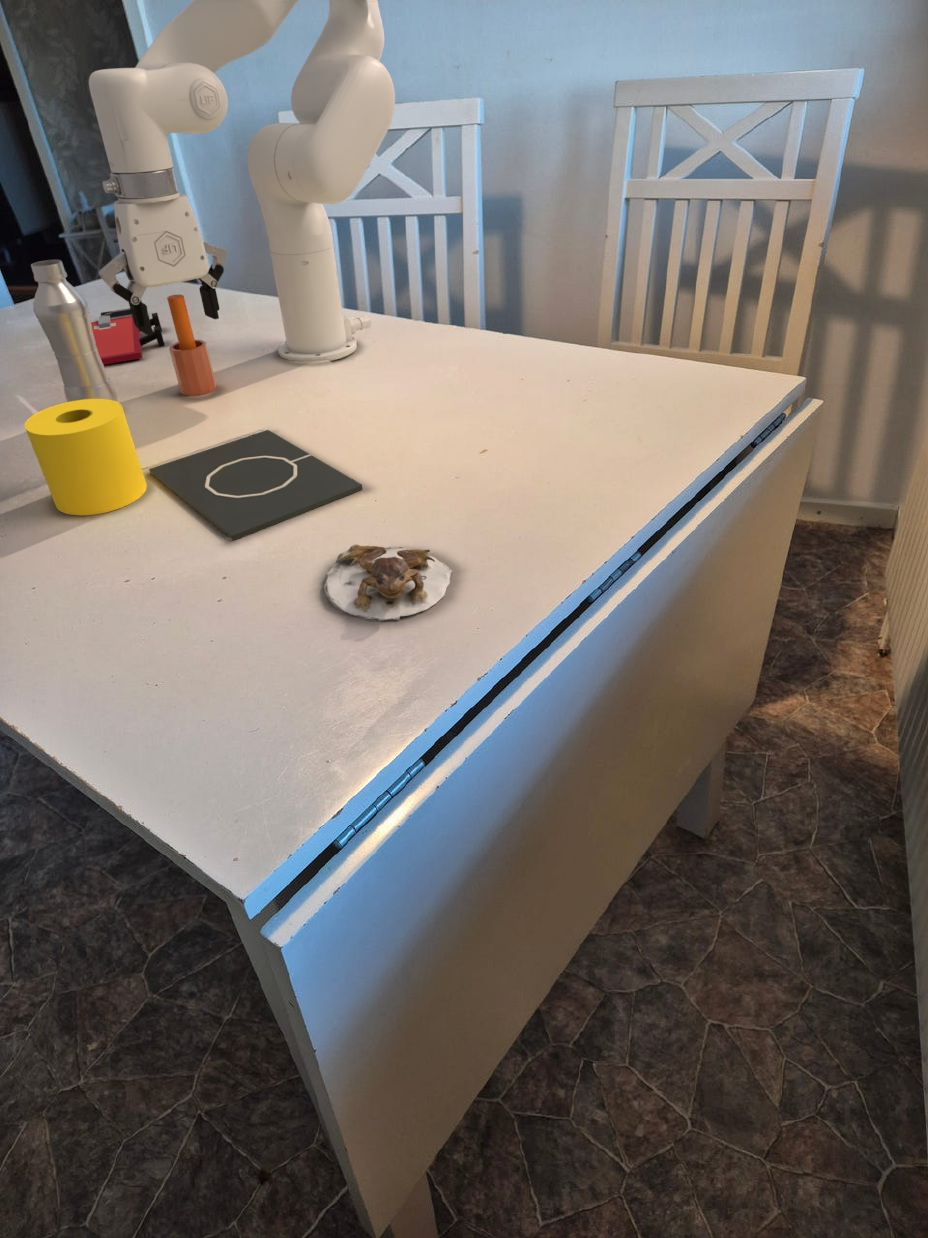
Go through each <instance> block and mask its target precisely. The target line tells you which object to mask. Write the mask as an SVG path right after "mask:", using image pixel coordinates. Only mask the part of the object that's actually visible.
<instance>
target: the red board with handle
mask: <svg viewBox="0 0 928 1238" xmlns="http://www.w3.org/2000/svg"><path fill="white" fill-rule="evenodd" d="M146 308H147V309H148V306H147V305H146ZM147 312H148V310H147ZM149 319H150V323H151V327H153V333H152V334H150V335H147V334H145V335H144V336H142V337H141V331H140V329H138V328H137V327H136V326H135V324H134V320H133V317H132V313H131V309H130V307H128V308H122V309H116V310H115V309H114V310H110V311H103V312H100V316H98V321H97V320H96V321H91V325H92V331H93V335H94V338H95V342H96V346H97V349H98V353H99V356H100V358H101V360H102V363H103V365H104V366H105V365H110V364H115V363H116V364H117V363H122V362H128V361H133V360H139V359H143V353H142V347H143V346H144V345H147V344H149V343H151V342H153V341H155V340H156V341H157V342H156V343H157V345H158V347H159V348H161V347H165V346H166V345H165V341H164V338H163V334H162V332H163V328H162V325H161V322H160V317H159V315H158V312H153V313H151V318H149Z"/></svg>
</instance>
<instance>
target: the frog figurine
mask: <svg viewBox="0 0 928 1238" xmlns="http://www.w3.org/2000/svg"><path fill="white" fill-rule="evenodd" d="M430 552H431V549H421V548H420V549H410V548H407V547H406V548H405V547H401V546H399V547H395V546H394V547H383V546H378V545H359V544H357V543H355V544H353V545H351V546H350V547H349V548H348V549H347V550H345V551H343V552H341V553H339V554H338V556H337V558H336V560H335V563H334V564H333V565H332V566H331V568H330V569H329V570H328V572H327V573H325V576H326V580H325V582H324V584H323V592H324V594H325V597H326V599H327V600H328V602H329V603H330V604H331V605H332V606H333V607H334V608H335V609H337V610H339V611H341V612H343V613H346V614H348V615H351V616H353V617H354V616H355V617H358V618H364V619H367V620H368V619H370V620H377V621H378V622H384V621H399V620H401V617H408V616H412V615H416V614H418V613H422V612H425V611H426V610H429V609H430V608H431V607H434V606H435V605H436V604H437V603H438V602H439V601H440V600H441V599H443V598H444V597H445V594H446V592H447V591H446V590H447V588H448V586H449V585H450V584H451V577H452V574H453V570H452V569H451V568H450V567H449V566H448V565H446V563H443V562H441V561H440V560H438V559H437V558H436V557H435V556H431V555H429V554H428V553H430Z"/></svg>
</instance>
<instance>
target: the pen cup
mask: <svg viewBox="0 0 928 1238" xmlns="http://www.w3.org/2000/svg"><path fill="white" fill-rule="evenodd" d="M194 340H195V344H196V348H193V349H188V350H180V346H179V342H178V341H177V342H175V343H173V344H170V346H169V348H168V350H169V353H170V358H171V362H172V365H173V369H174V373H175V377H176V379H177V384H178V387H179V391H180V393H181V394H182V396H183V395H184V396H186V397H198V396H199V397H200V396H203V395H207V394H210V393H212V392H214V391H215V390H216V389H217V382H216V378H215V374H214V370H213V365H212V361H211V357H210V352H209V349H208V348H209V347H208V343H207V342H206V341H205V340H203V339H194Z"/></svg>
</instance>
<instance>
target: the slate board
mask: <svg viewBox="0 0 928 1238" xmlns="http://www.w3.org/2000/svg"><path fill="white" fill-rule="evenodd" d="M148 471H149V474H150V475H152V476H153V477H154V478H155V479H156V480H158V481H159V482H160V483H161V484H163V486H165V487H166V488H168V489H169V490H170V491H171V492H172V493H173V494H175V495H176V496H177V497H178V498H180V499H181V500H182V501H184V502H185V503H186V504H187V505H188V506H190V507H191V508H192V509H193V510H194V511H195V512H197V513H198V514H199V515H201V516H202V517H203V518H204V519H205V520H207V521H208V522H209V523H211V524H212V525H213V526H214V527H215V528H216V529H218V530H219V531H220V532H221V533H222V534H224V535H225V536H227V537H228V538H229V539H230V540H231V541H236V540H239V539H241V538H244V537H246V536H249V535H251V534H254V533H256V532H259V531H260V530H264V529H266V528H269V527H271V526H274V525H276V524H278V523H281V522H284V521H286V520H289V519H291V518H293V517H296V516H299V515H302V514H304V513H306V512H309V511H311V510H314V509H317V508H319V507H321V506H324V505H327V504H329V503H331V502H334V501H336V500H339V499H342V498H344V497H347V496H349V495H352V494H354V493H357V492H360V491H362V490H363V489H364V488H363V484H362V483H361V482H358V481H356V480H355V479H353V478H351V477H350V476H348V475H346V474H344V473H343V472H341V471H340V470H337V469H336V468H335V467H332V466H331V465H329V464H327V463H326V462H324V461H322V460H321V459H319V458H317V457H316V456H314V455H312V454H311V453H308V451H305V450H304V449H302V448H300V447H299V446H296V445H295V444H293V443H291V442H290V441H288V440H286V439H284V438H283V437H281V436H279V435H277V434H276V433H274V432H273V431H271V430H269V429H266V430H262V431H259V432H257V433H254V434H251V435H247V436H245V437H241V438H238V439H236V440H233V441H229V442H227V443H223V444H220V445H217V446H214V447H210V448H208V449H205V450H202V451H199V452H195V453H193V454H190V455H188V456H184V457H182V458H181V457H180V458H178V459H176V460H172V461H169V462H166V463H163V464H160V465H157V466H154V467H151V468H149V469H148Z"/></svg>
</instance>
